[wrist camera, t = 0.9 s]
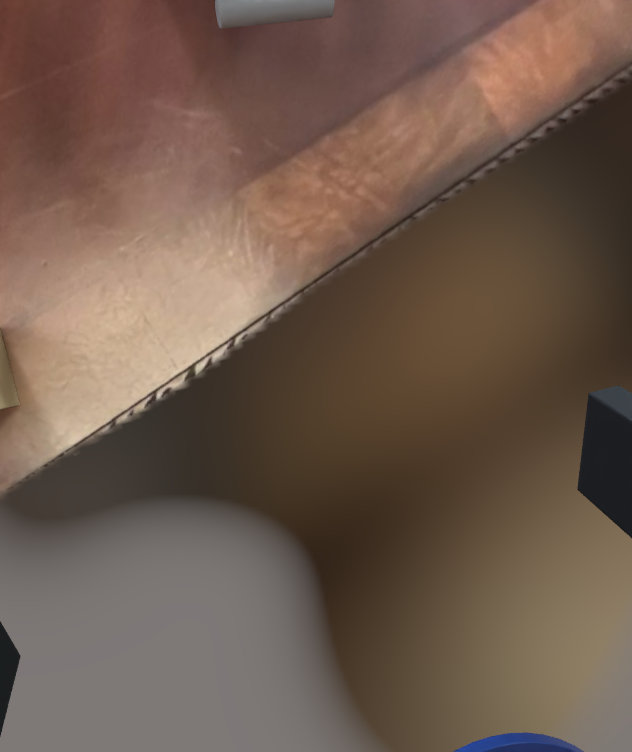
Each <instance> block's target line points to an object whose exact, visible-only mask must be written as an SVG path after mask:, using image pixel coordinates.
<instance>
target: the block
mask: <svg viewBox="0 0 632 752" xmlns="http://www.w3.org/2000/svg"><path fill="white" fill-rule="evenodd" d="M19 405H20V403H19V399H18V395H17V391H16V387H15V384H14V380H13V376H12V372H11V368H10V364H9V360H8V356H7V352H6V349H5V345H4V341H3V337H2V333H1V329H0V410H2V409H6V408H11V407H15V406H19Z"/></svg>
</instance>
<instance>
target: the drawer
mask: <svg viewBox="0 0 632 752" xmlns="http://www.w3.org/2000/svg"><path fill="white" fill-rule="evenodd" d="M215 9H216V16H217V21H218V25H219V27H220V28H221V29H223V28H233V27H243V26H252V25H262V24H271V23H281V22H291V21H300V20H310V19H319V18H329V17H332V16H333V12H334V0H215Z"/></svg>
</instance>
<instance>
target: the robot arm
mask: <svg viewBox="0 0 632 752" xmlns="http://www.w3.org/2000/svg"><path fill="white" fill-rule="evenodd" d="M578 491H580V492H581V493H582V494H583V495H584V496H585V497H586V498H588V500H590V501H591V502H592V503H593V504H594V505H595V506H596V507H598V508H599V509H600V510H601V511H602V512H603V513H604V514H605V515H606V516H608V517H609V518H610V519H611V520H612V521H613V522H614V523H615V524H617V525H618V526H619V527H620V528H621V529H622V530H623V531H624V532H626V533H627V534H628V535H629V536H630V537H631V538H632V394H631V393H630V392H628V391H627V390H625V389H623V388H622V387H620V386H614V387H611V388H607V389H603V390H600V391H596V392H592V393H589V396H588V404H587V412H586V421H585V431H584V438H583V446H582V455H581V463H580V472H579V481H578ZM19 660H20V655H19V653H18V651H17V649H16V648H15V646H14V644H13V642H12V641H11V639H10V637H9V635H8V634H7V632H6V630H5V629H4V627H3V625H2V623H1V622H0V735H1V731H2V727H3V723H4V719H5V715H6V712H7V708H8V703H9V700H10V695H11V691H12V687H13V684H14V680H15V676H16V672H17V668H18V664H19Z"/></svg>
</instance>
